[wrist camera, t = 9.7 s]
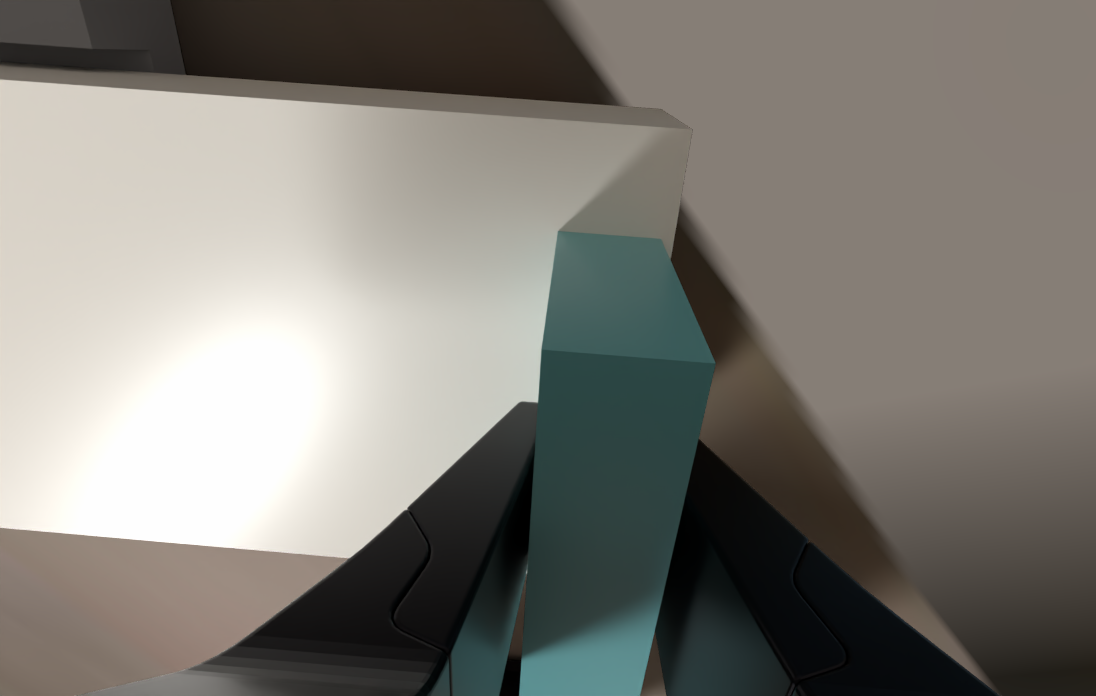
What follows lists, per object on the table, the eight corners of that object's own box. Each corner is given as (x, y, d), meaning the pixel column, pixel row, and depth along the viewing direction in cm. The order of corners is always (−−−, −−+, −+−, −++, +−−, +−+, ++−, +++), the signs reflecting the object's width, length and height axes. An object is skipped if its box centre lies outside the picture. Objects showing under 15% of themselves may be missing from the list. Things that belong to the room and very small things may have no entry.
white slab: (46, 425, 16) (-359, 703, 9) (-111, 53, 11) (-1103, 48, 5) (609, 472, 15) (630, 796, 9) (660, 108, 11) (782, 187, 4)
